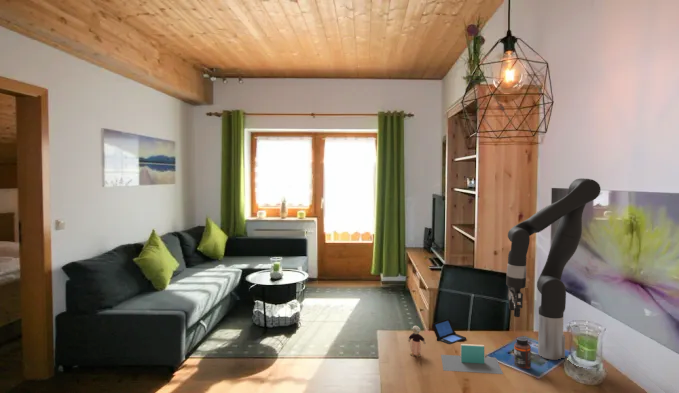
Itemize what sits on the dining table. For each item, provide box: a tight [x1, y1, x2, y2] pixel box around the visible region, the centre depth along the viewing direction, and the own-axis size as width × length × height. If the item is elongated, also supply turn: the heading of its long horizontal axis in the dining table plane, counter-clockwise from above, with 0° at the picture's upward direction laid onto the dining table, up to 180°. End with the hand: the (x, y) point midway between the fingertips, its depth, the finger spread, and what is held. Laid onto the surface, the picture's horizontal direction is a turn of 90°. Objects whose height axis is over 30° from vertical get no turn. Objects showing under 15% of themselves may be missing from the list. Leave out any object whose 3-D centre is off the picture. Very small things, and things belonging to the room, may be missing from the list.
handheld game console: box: [431, 318, 467, 345], centre depth 192 cm, size 12×11×7 cm
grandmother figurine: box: [407, 325, 426, 358], centre depth 176 cm, size 8×4×13 cm, turn 73°
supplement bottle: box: [513, 336, 532, 370], centre depth 164 cm, size 6×6×11 cm
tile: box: [460, 343, 485, 364], centre depth 167 cm, size 9×2×7 cm, turn 80°
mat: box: [440, 354, 504, 375], centre depth 166 cm, size 22×14×1 cm, turn 80°
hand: (514, 313), depth 174 cm, fingers open, 8 cm apart
